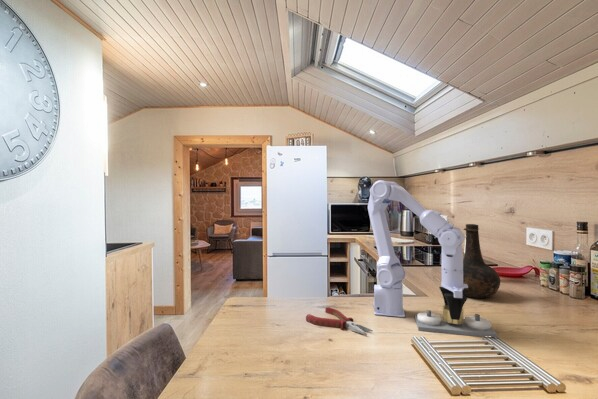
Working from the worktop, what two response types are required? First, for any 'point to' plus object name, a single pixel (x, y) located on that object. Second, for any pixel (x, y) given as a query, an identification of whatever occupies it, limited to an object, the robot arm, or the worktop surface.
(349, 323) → the pliers
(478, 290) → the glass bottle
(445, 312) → the brass gear
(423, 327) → the gear board
